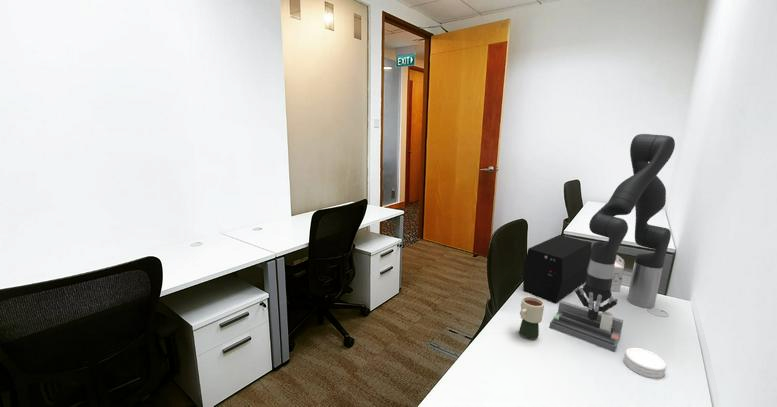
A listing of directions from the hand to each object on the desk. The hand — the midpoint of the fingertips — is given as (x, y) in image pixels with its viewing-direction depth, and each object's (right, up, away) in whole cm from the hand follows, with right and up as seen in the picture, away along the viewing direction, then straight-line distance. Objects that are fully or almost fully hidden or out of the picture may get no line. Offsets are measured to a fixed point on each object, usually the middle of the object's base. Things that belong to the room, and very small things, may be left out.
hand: (592, 319), depth 117 cm
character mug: (-23, -5, -1) cm, 23 cm away
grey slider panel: (-1, -5, +2) cm, 6 cm away
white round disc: (+6, -10, -15) cm, 19 cm away
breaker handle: (+3, -4, -2) cm, 5 cm away
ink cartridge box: (+31, +2, +37) cm, 48 cm away
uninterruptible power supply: (+5, +2, +36) cm, 36 cm away
